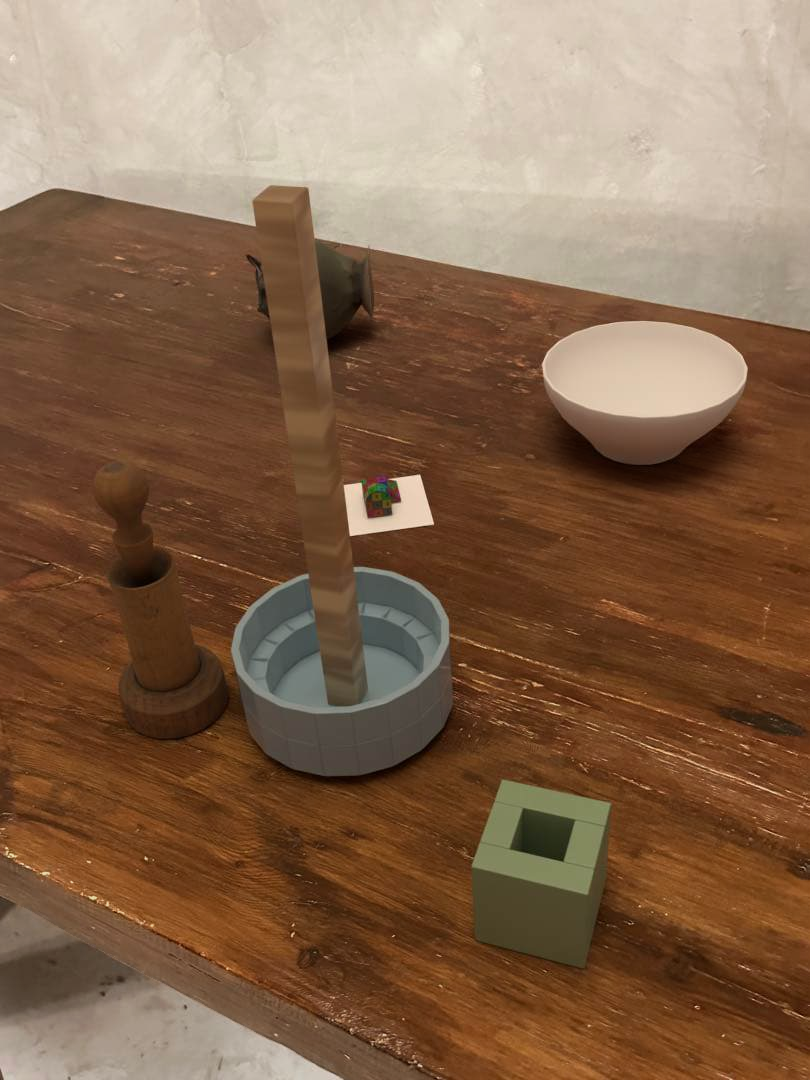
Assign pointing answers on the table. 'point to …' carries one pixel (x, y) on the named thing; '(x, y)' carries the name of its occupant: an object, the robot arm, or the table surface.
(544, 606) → the table surface
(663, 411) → the bowl
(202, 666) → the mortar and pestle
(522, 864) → the stick holder
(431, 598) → the light blue round container
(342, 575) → the stick
